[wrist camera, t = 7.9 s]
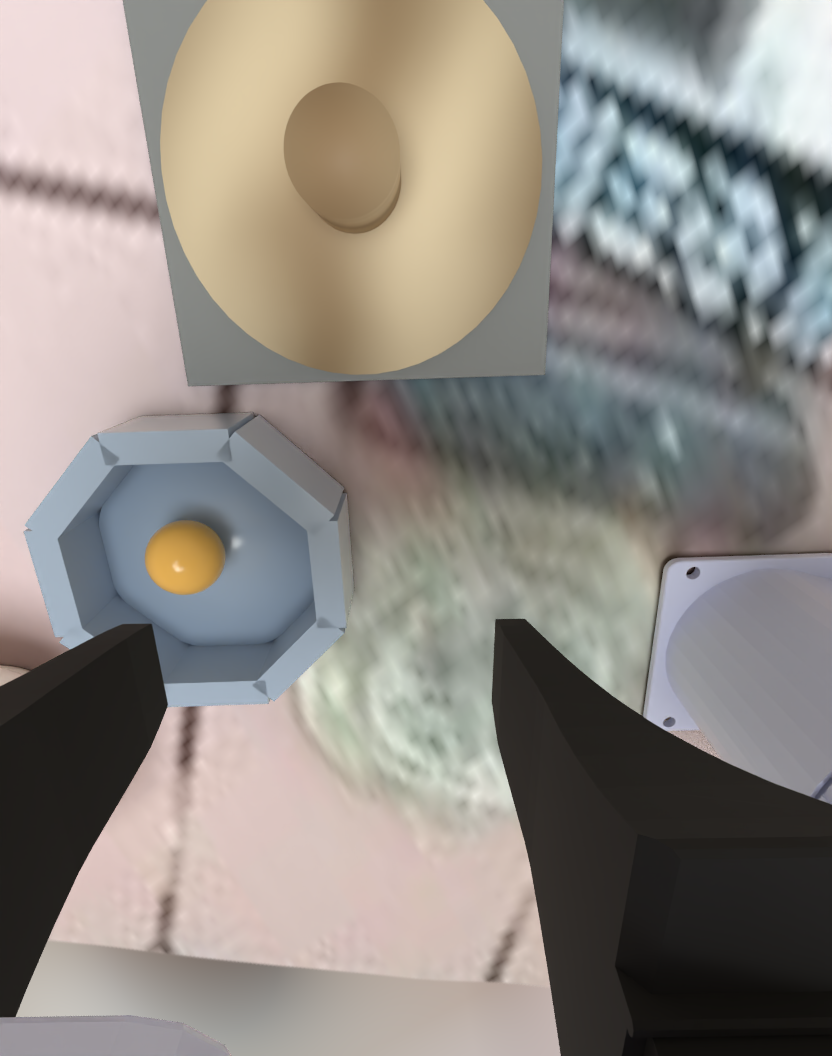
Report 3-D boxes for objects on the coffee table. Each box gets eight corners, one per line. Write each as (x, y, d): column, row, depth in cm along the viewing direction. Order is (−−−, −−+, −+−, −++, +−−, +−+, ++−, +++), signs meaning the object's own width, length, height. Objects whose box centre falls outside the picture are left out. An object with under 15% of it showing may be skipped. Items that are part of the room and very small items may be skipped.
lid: (560, -44, 15) (603, -144, 12) (518, 378, 19) (542, 393, 16) (144, -67, 15) (67, -176, 12) (189, 366, 19) (142, 379, 15)
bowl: (340, 409, 20) (328, 426, 17) (359, 654, 23) (352, 704, 20) (53, 418, 20) (-10, 437, 17) (116, 662, 23) (73, 713, 20)
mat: (564, -90, 15) (568, -100, 15) (542, 373, 19) (544, 374, 19) (115, -76, 15) (108, -86, 15) (192, 384, 19) (188, 386, 19)
